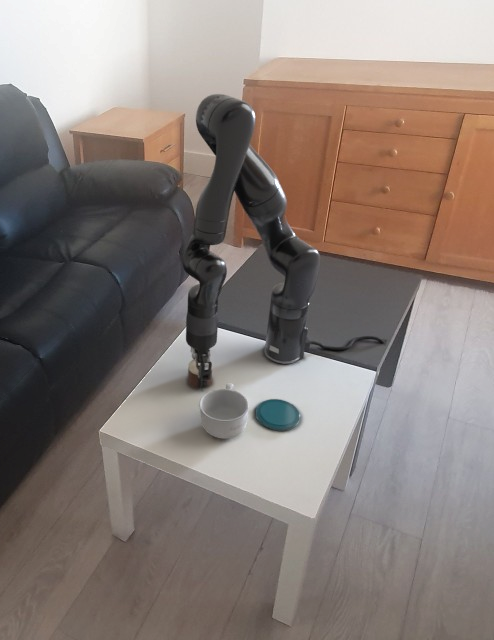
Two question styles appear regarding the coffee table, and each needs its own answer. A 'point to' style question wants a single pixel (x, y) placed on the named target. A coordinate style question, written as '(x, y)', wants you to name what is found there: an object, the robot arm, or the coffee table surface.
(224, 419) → the teacup
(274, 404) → the cake plate
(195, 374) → the cake
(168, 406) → the coffee table surface
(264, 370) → the coffee table surface
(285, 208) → the robot arm
